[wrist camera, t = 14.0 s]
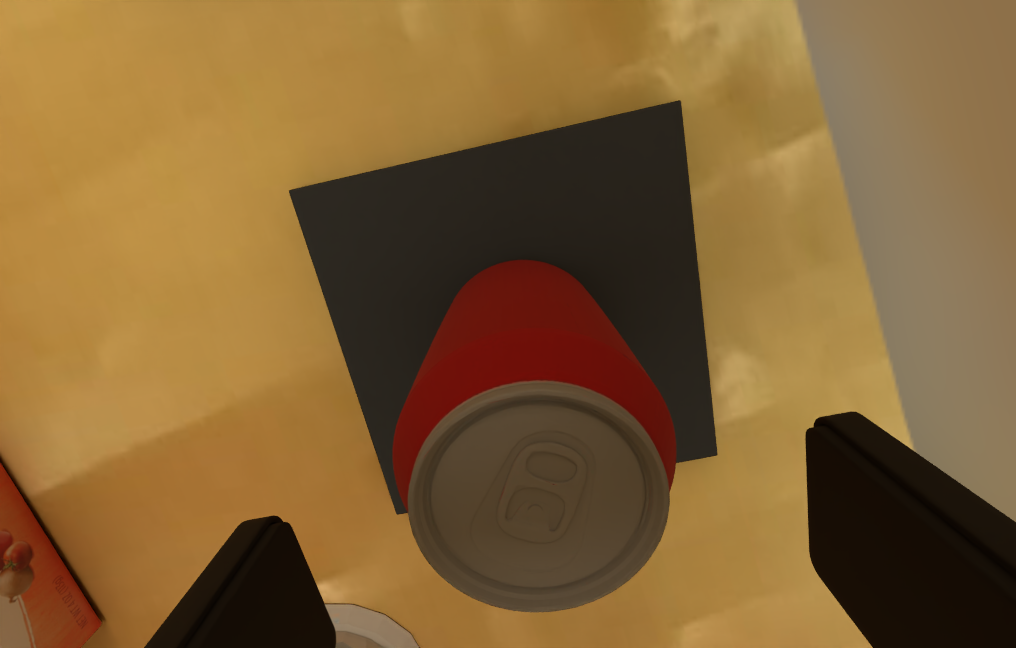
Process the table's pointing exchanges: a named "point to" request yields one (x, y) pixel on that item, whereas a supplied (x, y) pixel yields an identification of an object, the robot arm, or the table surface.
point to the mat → (518, 255)
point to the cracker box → (36, 583)
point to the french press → (366, 628)
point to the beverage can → (533, 445)
